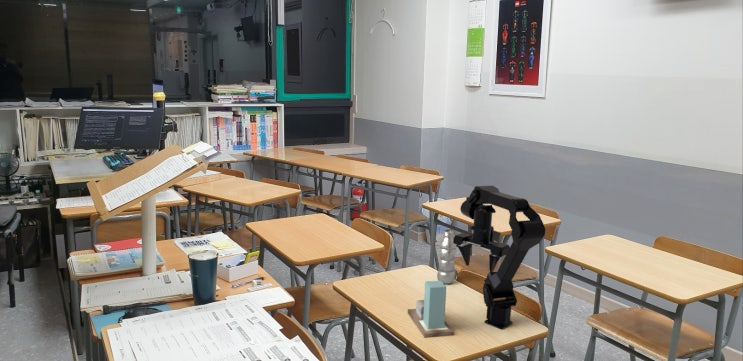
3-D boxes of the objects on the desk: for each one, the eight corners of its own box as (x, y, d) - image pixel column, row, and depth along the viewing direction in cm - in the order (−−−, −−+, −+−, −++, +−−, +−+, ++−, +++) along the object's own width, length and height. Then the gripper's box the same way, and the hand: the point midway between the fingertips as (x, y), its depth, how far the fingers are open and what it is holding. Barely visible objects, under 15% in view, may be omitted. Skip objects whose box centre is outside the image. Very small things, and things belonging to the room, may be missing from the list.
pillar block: (438, 320, 163) (440, 280, 161) (444, 327, 159) (446, 286, 156) (423, 321, 162) (425, 281, 160) (428, 329, 158) (430, 287, 155)
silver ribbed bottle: (433, 280, 200) (436, 229, 196) (449, 278, 202) (452, 227, 198) (441, 286, 194) (444, 234, 190) (457, 284, 196) (461, 232, 193)
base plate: (433, 310, 173) (434, 295, 172) (453, 335, 157) (454, 318, 156) (407, 312, 171) (408, 297, 170) (424, 337, 155) (425, 320, 154)
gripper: (520, 225, 172) (516, 270, 175) (472, 214, 185) (469, 256, 188) (502, 231, 164) (499, 279, 167) (453, 219, 177) (450, 263, 180)
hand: (479, 269), depth 175 cm, fingers open, 9 cm apart
